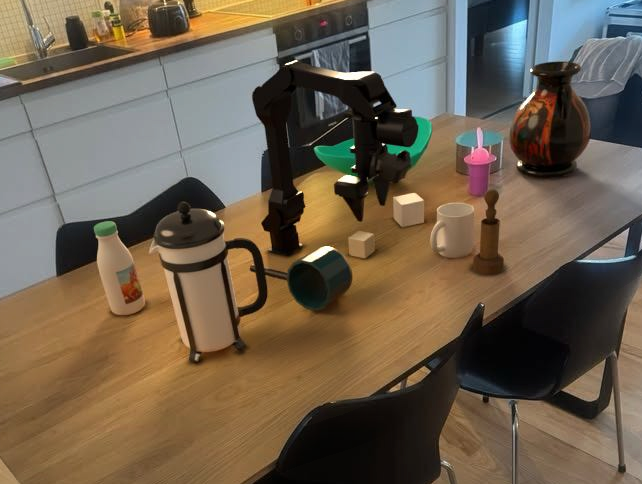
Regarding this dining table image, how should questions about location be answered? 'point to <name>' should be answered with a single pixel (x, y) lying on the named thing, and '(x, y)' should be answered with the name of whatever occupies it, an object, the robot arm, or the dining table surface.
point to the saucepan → (316, 277)
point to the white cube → (408, 209)
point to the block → (361, 244)
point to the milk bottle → (117, 271)
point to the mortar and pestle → (489, 239)
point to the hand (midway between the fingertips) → (371, 213)
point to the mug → (453, 230)
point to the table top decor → (345, 160)
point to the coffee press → (204, 279)
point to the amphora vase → (550, 124)
